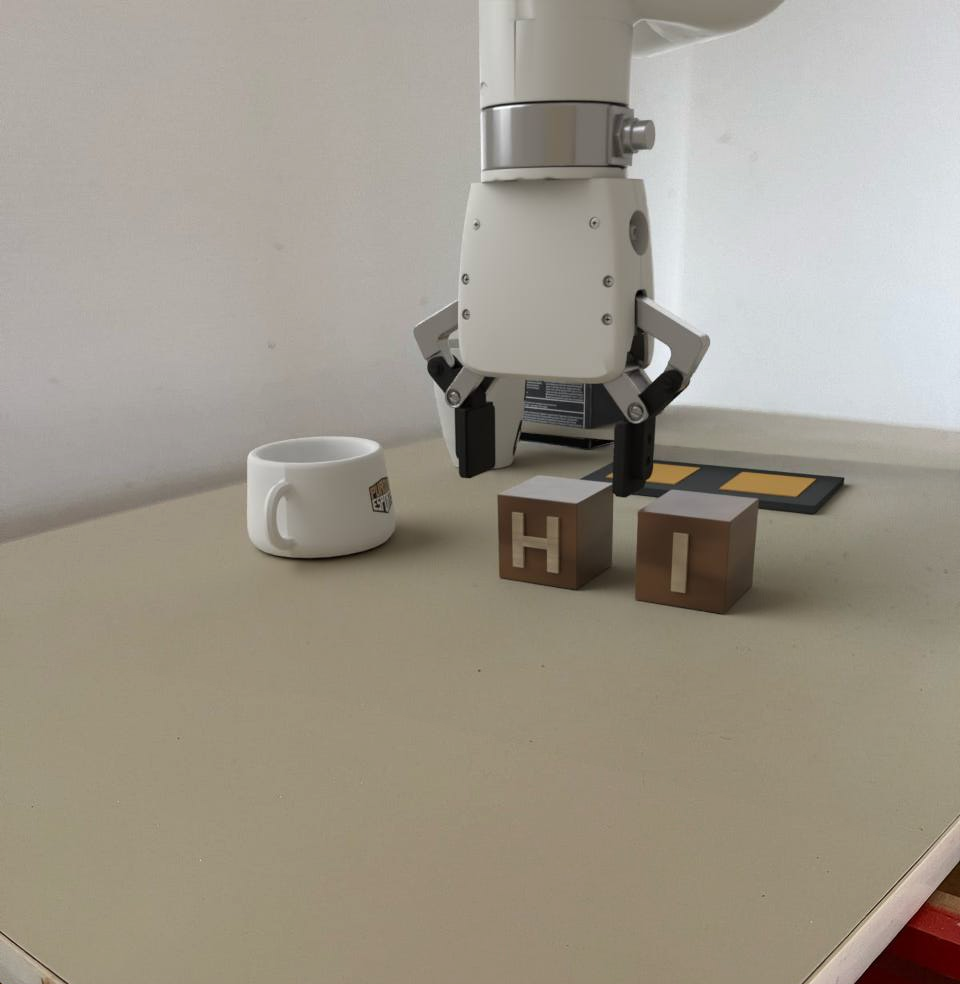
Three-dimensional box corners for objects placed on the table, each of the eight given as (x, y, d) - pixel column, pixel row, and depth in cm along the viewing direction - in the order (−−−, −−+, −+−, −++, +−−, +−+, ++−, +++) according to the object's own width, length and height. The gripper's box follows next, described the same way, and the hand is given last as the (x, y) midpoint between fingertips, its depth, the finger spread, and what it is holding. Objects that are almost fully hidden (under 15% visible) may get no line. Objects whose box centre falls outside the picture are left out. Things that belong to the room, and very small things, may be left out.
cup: (545, 467, 86) (544, 343, 82) (454, 478, 83) (449, 350, 79) (507, 449, 93) (505, 334, 89) (422, 459, 90) (416, 340, 86)
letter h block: (612, 564, 62) (614, 483, 60) (574, 591, 57) (575, 504, 56) (538, 554, 64) (537, 474, 62) (497, 578, 60) (495, 494, 58)
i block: (752, 585, 58) (759, 498, 56) (722, 615, 53) (729, 522, 52) (667, 573, 60) (671, 489, 58) (633, 601, 56) (635, 511, 54)
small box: (632, 439, 95) (635, 321, 91) (590, 451, 91) (592, 328, 87) (542, 427, 102) (542, 316, 98) (499, 438, 97) (497, 323, 93)
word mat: (843, 485, 78) (844, 475, 77) (814, 514, 70) (815, 504, 70) (622, 463, 86) (622, 455, 86) (576, 488, 79) (576, 479, 79)
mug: (291, 515, 74) (283, 432, 71) (417, 523, 71) (413, 436, 69) (201, 568, 63) (188, 471, 61) (345, 579, 60) (337, 479, 58)
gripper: (744, 146, 51) (718, 485, 58) (449, 161, 59) (456, 455, 66) (692, 138, 45) (670, 516, 52) (372, 155, 53) (388, 480, 60)
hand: (550, 482), depth 59 cm, fingers open, 9 cm apart
